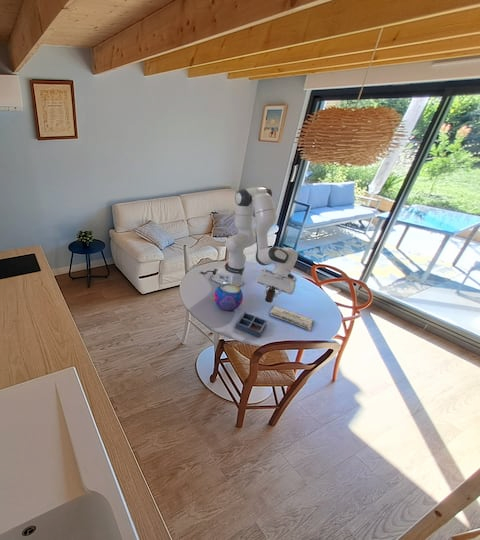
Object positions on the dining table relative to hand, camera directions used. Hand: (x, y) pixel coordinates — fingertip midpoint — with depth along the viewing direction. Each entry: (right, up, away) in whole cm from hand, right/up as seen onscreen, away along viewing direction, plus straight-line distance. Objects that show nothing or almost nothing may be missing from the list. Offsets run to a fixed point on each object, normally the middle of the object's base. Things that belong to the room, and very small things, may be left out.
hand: (270, 294), depth 164 cm
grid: (-9, -20, +6) cm, 22 cm away
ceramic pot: (-17, -10, +23) cm, 30 cm away
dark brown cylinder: (+1, -4, +3) cm, 4 cm away
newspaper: (+19, -16, +12) cm, 27 cm away
